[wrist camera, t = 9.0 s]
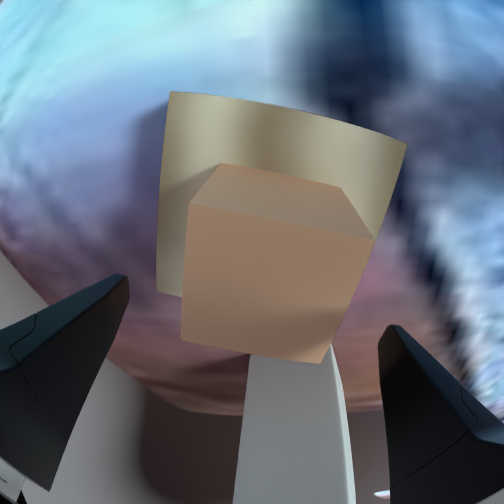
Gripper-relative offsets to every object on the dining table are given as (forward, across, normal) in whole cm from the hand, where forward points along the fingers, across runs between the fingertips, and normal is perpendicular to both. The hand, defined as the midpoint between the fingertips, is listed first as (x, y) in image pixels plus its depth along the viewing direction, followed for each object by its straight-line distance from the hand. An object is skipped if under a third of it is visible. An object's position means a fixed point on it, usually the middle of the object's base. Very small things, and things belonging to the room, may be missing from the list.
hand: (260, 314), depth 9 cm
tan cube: (+7, 0, 0) cm, 7 cm away
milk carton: (+11, -6, +15) cm, 20 cm away
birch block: (+11, 0, 0) cm, 11 cm away
